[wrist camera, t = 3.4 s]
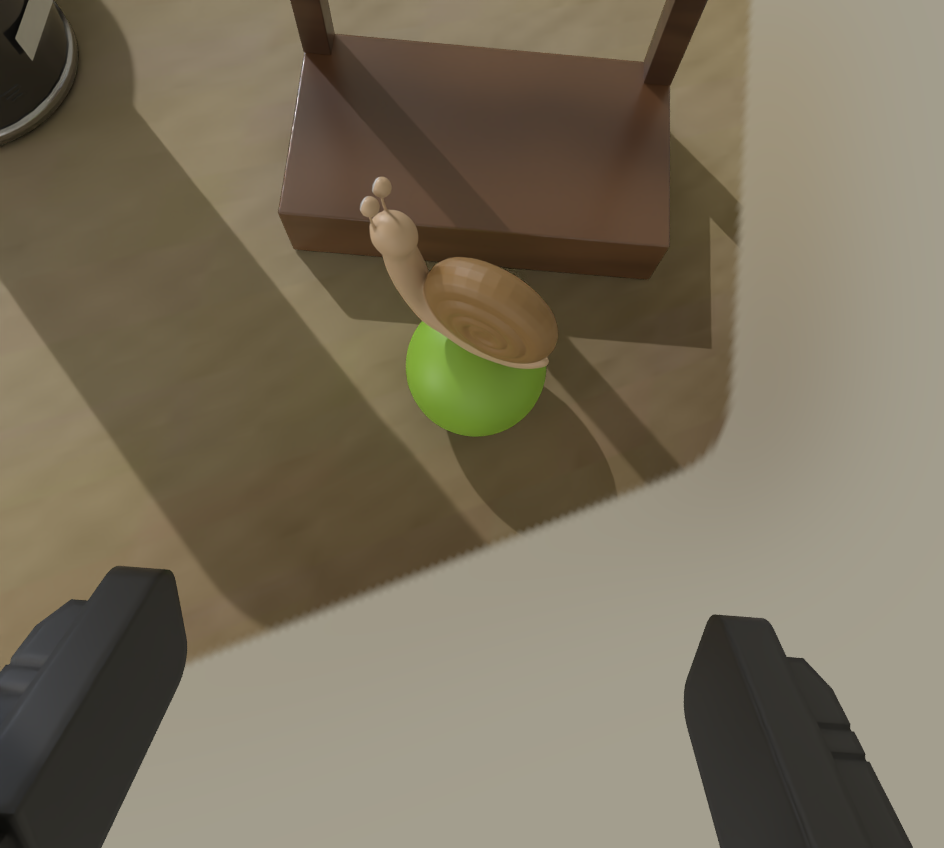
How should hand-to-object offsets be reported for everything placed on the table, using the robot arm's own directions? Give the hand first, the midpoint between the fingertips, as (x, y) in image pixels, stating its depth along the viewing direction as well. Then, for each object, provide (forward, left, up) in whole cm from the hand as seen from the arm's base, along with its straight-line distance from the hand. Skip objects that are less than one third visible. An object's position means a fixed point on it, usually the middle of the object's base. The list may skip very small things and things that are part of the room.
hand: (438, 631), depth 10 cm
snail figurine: (-8, +5, -17) cm, 20 cm away
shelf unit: (-17, +10, -17) cm, 26 cm away
